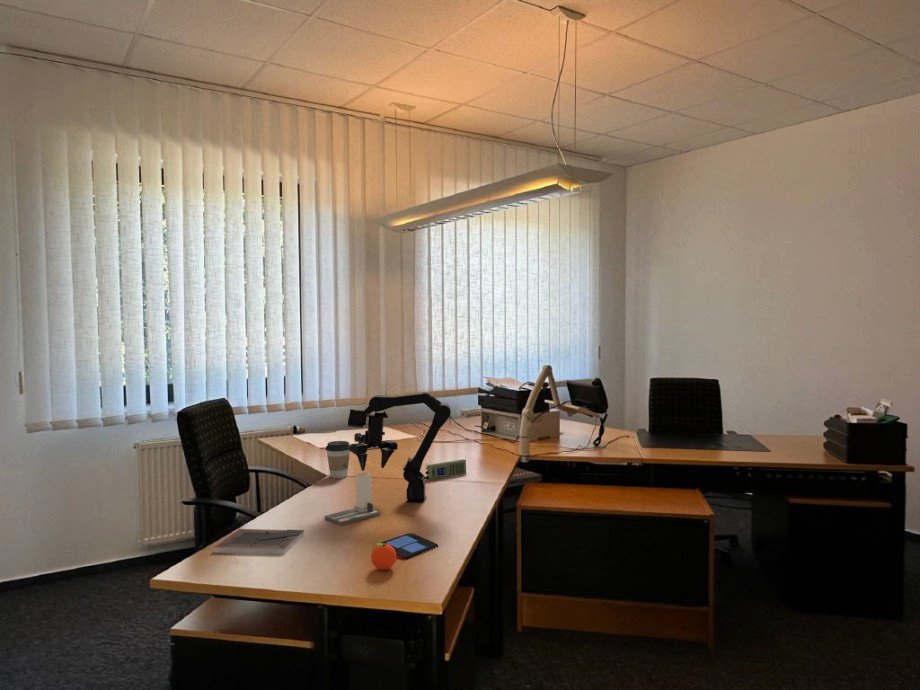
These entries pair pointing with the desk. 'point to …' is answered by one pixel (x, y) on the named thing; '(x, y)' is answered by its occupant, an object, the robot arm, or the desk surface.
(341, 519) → the board
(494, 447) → the desk surface
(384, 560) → the clementine
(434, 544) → the game console
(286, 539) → the picture frame
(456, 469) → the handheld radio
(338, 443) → the coffee cup
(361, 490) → the white tall block
